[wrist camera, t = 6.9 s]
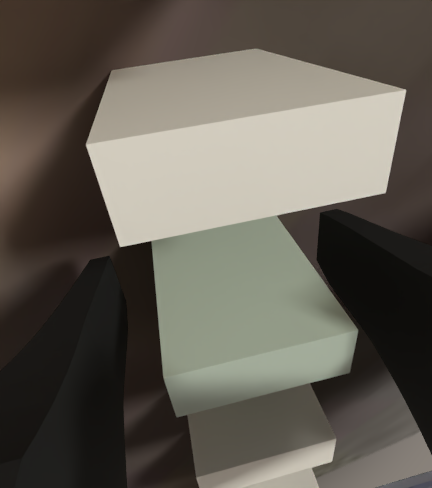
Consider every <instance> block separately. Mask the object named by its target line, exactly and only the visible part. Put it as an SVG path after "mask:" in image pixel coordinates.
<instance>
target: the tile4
mask: <svg viewBox="0 0 432 488" xmlns="http://www.w3.org/2000/svg"><path fill="white" fill-rule="evenodd" d="M187 416H188V423H189V430H190V437H191V445H192V452H193V459H194V466H195V473H196V479H197V482H198V485H199V488H242V487H245V486H249V485H252V484H256V483H259V482H263V481H266V480H270V479H273V478H277V477H280V476H284V475H287V474H291V473H294V472H298V471H301V470H305V469H308V468H312V467H315V466H319V465H322V464H326V463H329V462H332V459H333V453H334V448H335V443H336V437H335V435H334V432H333V430H332V428H331V426H330V424H329V422H328V420H327V418H326V416H325V414H324V412H323V410H322V408H321V405H320V403H319V401H318V399H317V397H316V395H315V393H314V391H313V389H312V387H311V385H310V383H308V384H304V385H301V386H297V387H293V388H289V389H285V390H281V391H277V392H274V393H270V394H266V395H262V396H258V397H254V398H250V399H246V400H243V401H239V402H235V403H231V404H227V405H223V406H219V407H215V408H212V409H208V410H204V411H200V412H196V413H192V414H188V415H187Z"/></svg>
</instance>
